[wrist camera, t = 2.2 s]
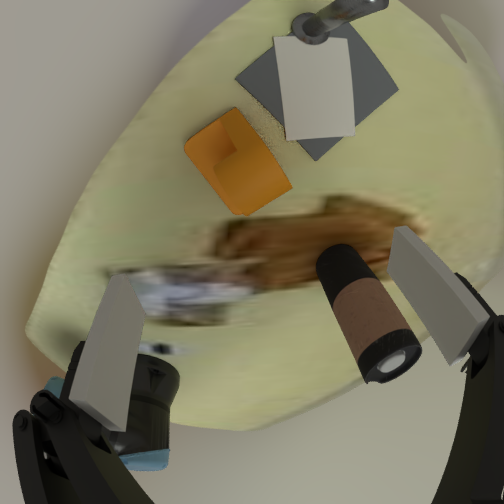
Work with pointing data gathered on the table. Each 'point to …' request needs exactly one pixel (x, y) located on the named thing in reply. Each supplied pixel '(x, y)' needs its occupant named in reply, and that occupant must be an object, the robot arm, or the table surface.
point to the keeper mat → (319, 86)
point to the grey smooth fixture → (332, 18)
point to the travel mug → (367, 316)
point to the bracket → (237, 164)
